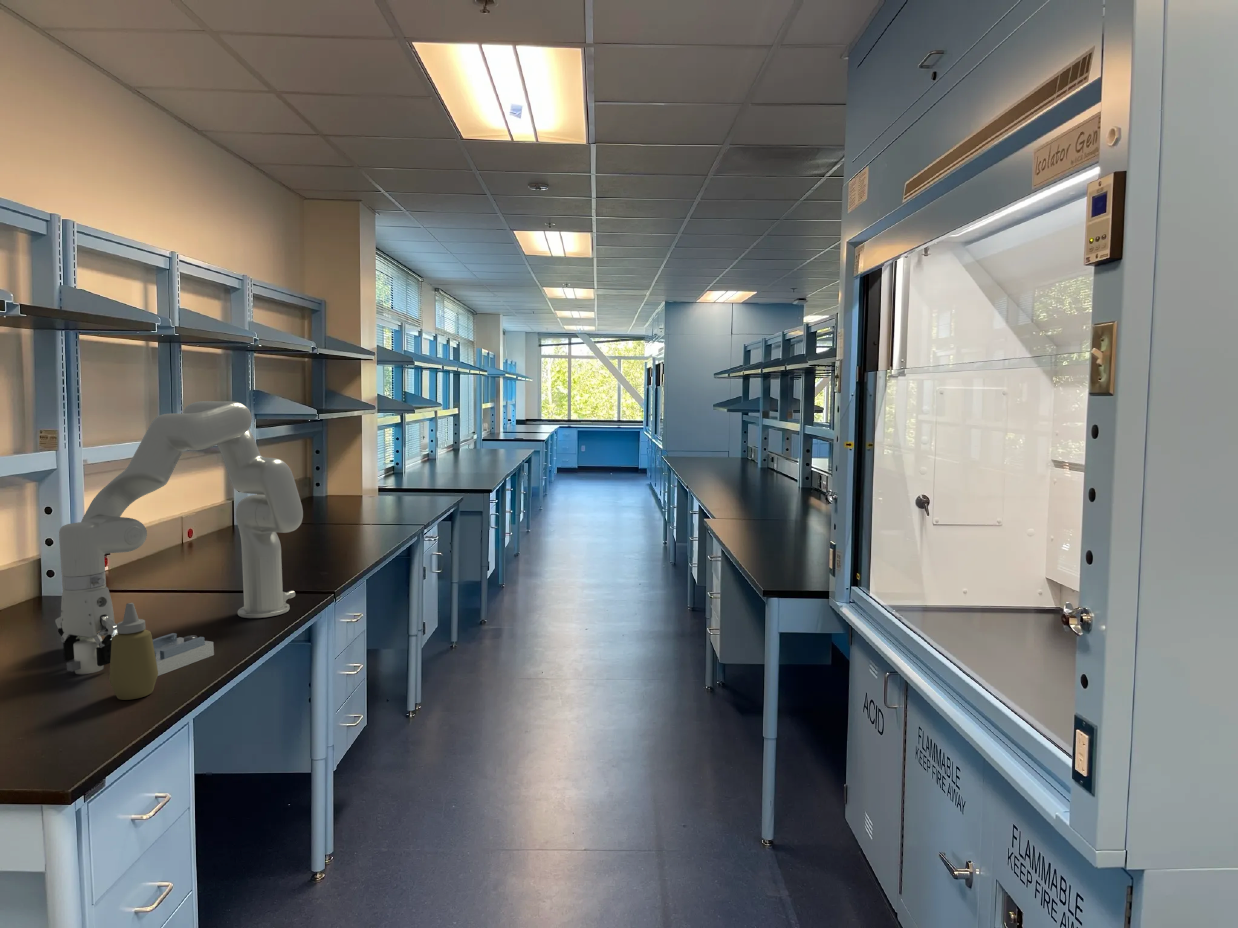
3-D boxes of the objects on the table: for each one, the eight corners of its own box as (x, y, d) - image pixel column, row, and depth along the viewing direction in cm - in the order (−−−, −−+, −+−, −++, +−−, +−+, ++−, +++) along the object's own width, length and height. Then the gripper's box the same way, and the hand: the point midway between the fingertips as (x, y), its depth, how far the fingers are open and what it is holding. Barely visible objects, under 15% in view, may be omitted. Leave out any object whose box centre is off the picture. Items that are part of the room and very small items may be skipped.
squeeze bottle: (167, 686, 153) (163, 597, 152) (144, 702, 145) (139, 609, 144) (126, 687, 153) (121, 598, 152) (100, 703, 145) (94, 609, 143)
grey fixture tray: (180, 650, 176) (179, 630, 175) (213, 654, 172) (212, 634, 172) (122, 670, 163) (121, 649, 162) (157, 676, 159) (156, 654, 159)
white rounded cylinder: (92, 664, 166) (91, 637, 166) (109, 667, 165) (107, 639, 164) (61, 675, 160) (59, 646, 160) (78, 677, 158) (76, 649, 158)
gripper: (131, 580, 162) (135, 660, 164) (72, 574, 168) (77, 651, 169) (96, 589, 155) (101, 672, 157) (36, 582, 161) (42, 662, 162)
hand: (89, 661), depth 163 cm, fingers open, 9 cm apart
